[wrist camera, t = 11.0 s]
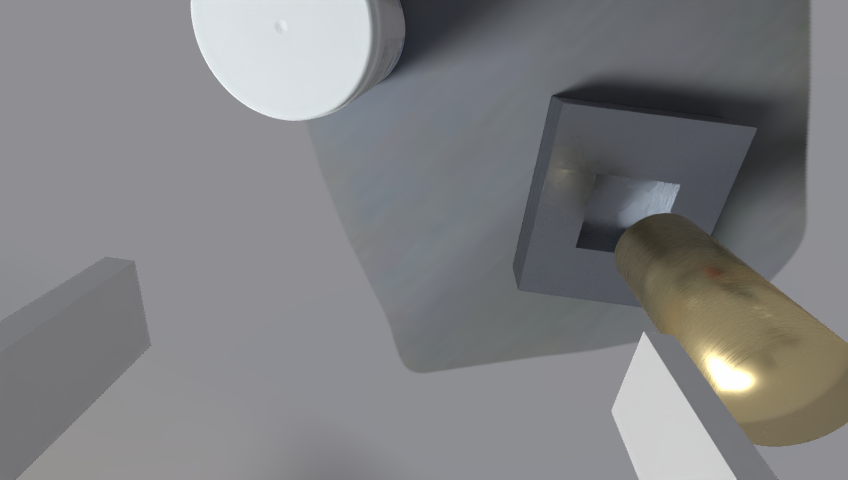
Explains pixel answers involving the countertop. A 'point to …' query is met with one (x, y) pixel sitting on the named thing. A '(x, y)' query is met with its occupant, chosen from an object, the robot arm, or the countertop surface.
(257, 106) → the supplement tub
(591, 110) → the housing
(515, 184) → the countertop surface
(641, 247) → the cream rounded cylinder
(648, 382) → the robot arm
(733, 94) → the countertop surface
